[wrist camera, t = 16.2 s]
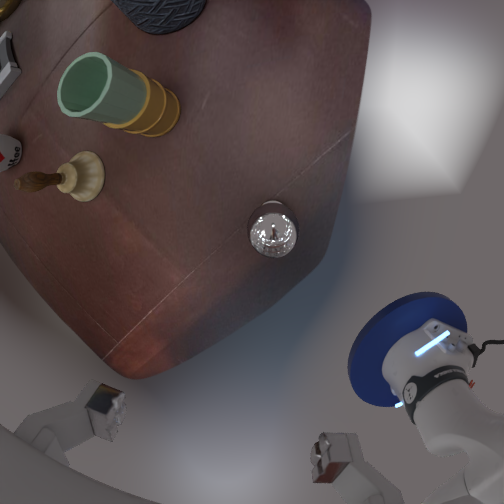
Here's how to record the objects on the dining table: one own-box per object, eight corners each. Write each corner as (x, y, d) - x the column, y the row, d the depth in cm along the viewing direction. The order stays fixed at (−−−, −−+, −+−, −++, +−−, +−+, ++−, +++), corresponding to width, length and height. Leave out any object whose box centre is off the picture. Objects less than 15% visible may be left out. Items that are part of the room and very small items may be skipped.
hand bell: (73, 145, 39) (4, 145, 24) (111, 157, 40) (43, 159, 24) (62, 193, 42) (-5, 209, 26) (98, 208, 42) (31, 229, 27)
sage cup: (152, 73, 26) (119, 49, 18) (140, 126, 28) (102, 117, 20) (106, 73, 26) (67, 55, 18) (94, 123, 28) (51, 116, 20)
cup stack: (185, 90, 36) (159, 67, 26) (174, 140, 39) (143, 132, 28) (139, 87, 36) (102, 68, 26) (128, 135, 39) (88, 128, 28)
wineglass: (247, 231, 42) (239, 256, 30) (256, 191, 40) (251, 200, 29) (287, 240, 42) (294, 268, 30) (297, 201, 40) (308, 214, 29)
